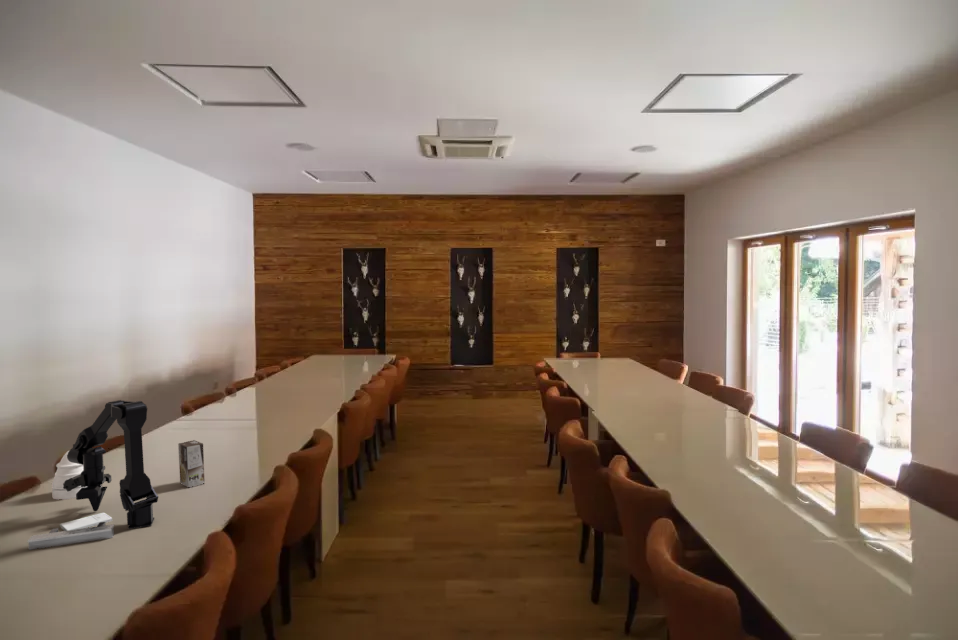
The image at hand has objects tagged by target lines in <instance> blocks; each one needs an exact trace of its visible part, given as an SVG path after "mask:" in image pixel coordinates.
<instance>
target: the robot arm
mask: <svg viewBox="0 0 958 640" xmlns="http://www.w3.org/2000/svg"><path fill="white" fill-rule="evenodd" d="M147 418H148V407H147V404H146V403H144V402H143V401H142V400H137V401H129V400H128V401H127V400H122V399H119V400H113V401H112V400H111V401H108V402H107V403H105V405H104V408H103V409H102V411H101V412H100V414H99V415H98V416H97V418H96V419H95V421H93V422H92V424H91V425H89V426H88V427H86V428H84V429H83V430H82V431H80V432H79V433H78V436H77V438H76V441H75V443H74V444H72V447H71V449H70V451H69V450H68V451H69V452H68V455H67V459H68V460H69V461H70V462H72V463H77V464H82V465H83V471H82V472H81V474H80V475H77V476H75V477H73V478H70V479H68V480H65V482H64V483H63V486H64V487H63V488H64V489H66V490H67V492H68V491H71V490H72V489H74V488H76V487H79V486H81V487H84V488H81V489H80V490H79V491H78V492H77V493H76V498H75V499H76V500H77V501H79V500H80V501H81V500H86V499H87V500H88V501H89V503H90V505H91V508H92V510H93V512H97V511H99V508H100V506H101V503H102V501H103V499H104V496H105V494H106V491H107V488H108V486H103V484H104V483H105V482H107V484H110V483H111V482H112V480H113V479H112V475H111V474H110V473H105V470H106V465H104V454H105V453H107V451H106V450H105V449H104V448H103V447H102V446H101V445H104V444H105V443H106V441H107V439H108V436H109V435H108V431H109V429H110V428H111V427H112V425H113V424H114V423H115V421H116V423H117V425H119V427H120V428H121V429H122V430H123V440H124V442H123V443H124V456H125V457H124V459H125V476H124V478H122V479H120V480H119V483H118V484H119V497H120V502H121V504H122V507H123V508H122V509H124V511H125V512H127V513H126V521H127V526H128V527H127V529H128V530H131V529H137V528H138V529H139V528H145V527H151V526H152V525H153V523H154V521H155V517H154V509H153V508H154V506H153V505H154V504H155V503H158V501H159V495H158V494H157V492H156V490H155V489H154V487H153V485H152V483H151V479H150V477H149V476H148V475H147V474H146V473H145V466H144V449H143V432H142V429H143V427H144V425H145V424H146V422H147V420H148V419H147ZM86 486H87V487H86ZM136 501H137V502H136Z"/></svg>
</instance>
